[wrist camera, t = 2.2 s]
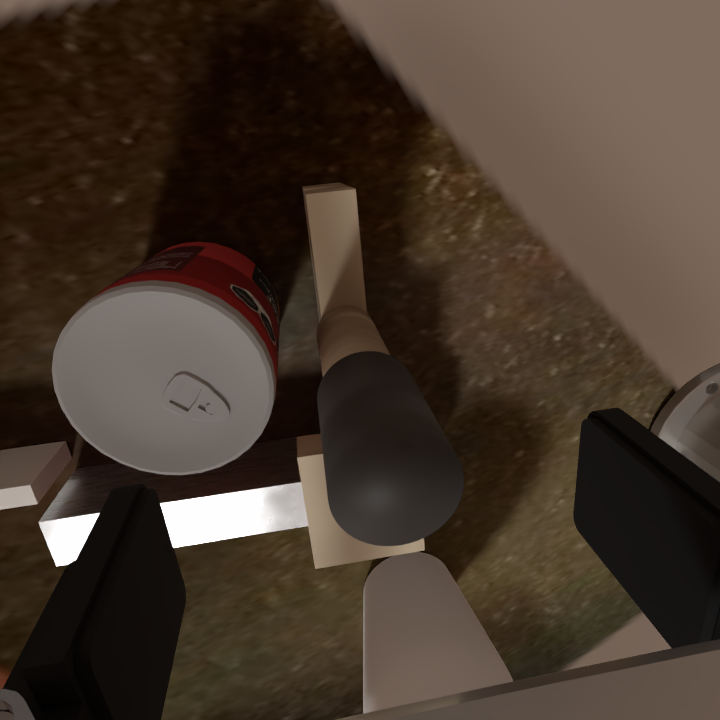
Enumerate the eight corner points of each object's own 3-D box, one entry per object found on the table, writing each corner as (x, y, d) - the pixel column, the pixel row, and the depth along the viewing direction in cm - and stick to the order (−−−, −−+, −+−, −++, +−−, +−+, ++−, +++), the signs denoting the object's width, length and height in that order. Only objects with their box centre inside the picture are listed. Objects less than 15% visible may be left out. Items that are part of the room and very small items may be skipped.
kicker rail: (424, 418, 33) (446, 459, 28) (426, 457, 34) (447, 503, 30) (75, 468, 31) (38, 522, 27) (90, 508, 32) (56, 566, 28)
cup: (425, 515, 36) (485, 673, 25) (485, 588, 39) (562, 756, 28) (323, 581, 37) (337, 761, 26) (389, 647, 40) (427, 831, 29)
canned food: (262, 385, 31) (247, 495, 21) (124, 350, 29) (34, 452, 19) (297, 264, 28) (301, 322, 18) (150, 219, 27) (64, 254, 16)
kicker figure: (377, 178, 27) (530, 207, 10) (399, 478, 34) (511, 800, 17) (263, 190, 26) (212, 243, 9) (310, 492, 33) (331, 838, 16)
